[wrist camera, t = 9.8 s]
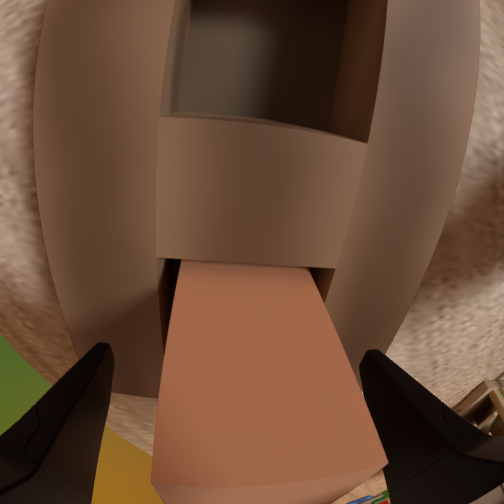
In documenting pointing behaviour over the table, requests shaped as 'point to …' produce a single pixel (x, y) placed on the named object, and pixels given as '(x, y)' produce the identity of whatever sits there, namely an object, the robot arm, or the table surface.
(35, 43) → the table surface
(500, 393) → the pounding bench toy
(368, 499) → the shape sorter
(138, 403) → the table surface
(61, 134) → the socket block
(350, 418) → the pin
